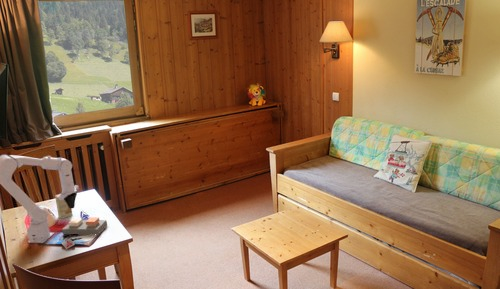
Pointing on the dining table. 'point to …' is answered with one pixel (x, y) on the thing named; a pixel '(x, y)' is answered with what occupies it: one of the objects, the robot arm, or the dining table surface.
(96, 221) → the terracotta plunger
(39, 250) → the dining table surface
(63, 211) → the skincare box
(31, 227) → the robot arm
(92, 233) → the panel
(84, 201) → the dining table surface
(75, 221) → the cream cube block
